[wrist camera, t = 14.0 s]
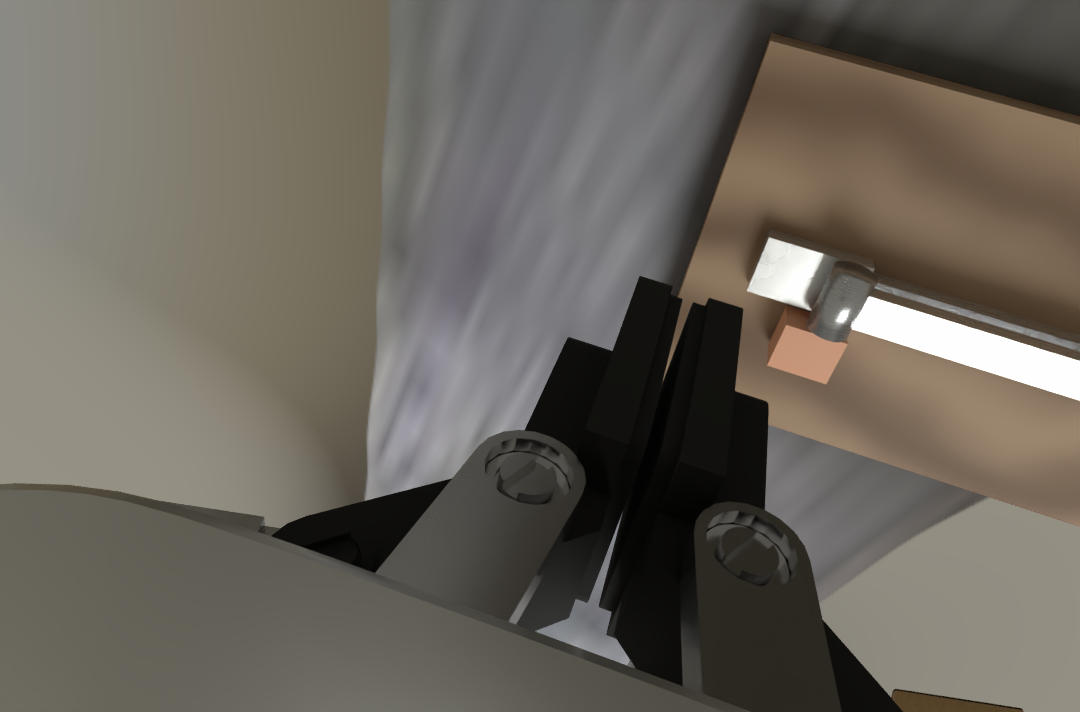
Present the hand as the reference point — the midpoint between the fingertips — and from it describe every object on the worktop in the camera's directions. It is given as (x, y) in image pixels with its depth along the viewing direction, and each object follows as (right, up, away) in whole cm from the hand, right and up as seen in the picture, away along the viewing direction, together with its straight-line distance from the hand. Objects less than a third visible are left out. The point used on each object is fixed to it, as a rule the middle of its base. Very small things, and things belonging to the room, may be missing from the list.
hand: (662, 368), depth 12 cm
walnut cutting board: (+21, +2, +25) cm, 33 cm away
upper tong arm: (+21, 0, +23) cm, 31 cm away
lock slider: (+12, +1, +27) cm, 29 cm away
